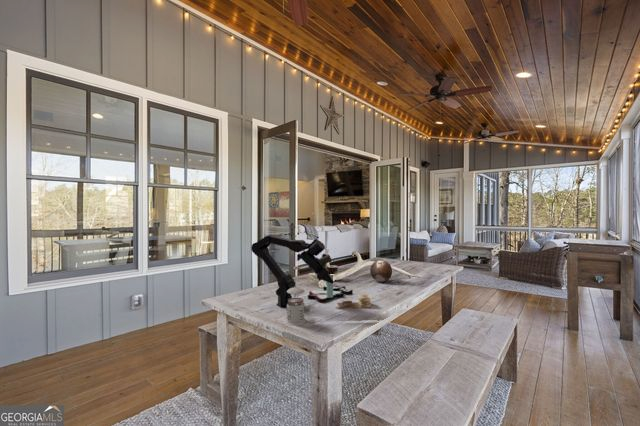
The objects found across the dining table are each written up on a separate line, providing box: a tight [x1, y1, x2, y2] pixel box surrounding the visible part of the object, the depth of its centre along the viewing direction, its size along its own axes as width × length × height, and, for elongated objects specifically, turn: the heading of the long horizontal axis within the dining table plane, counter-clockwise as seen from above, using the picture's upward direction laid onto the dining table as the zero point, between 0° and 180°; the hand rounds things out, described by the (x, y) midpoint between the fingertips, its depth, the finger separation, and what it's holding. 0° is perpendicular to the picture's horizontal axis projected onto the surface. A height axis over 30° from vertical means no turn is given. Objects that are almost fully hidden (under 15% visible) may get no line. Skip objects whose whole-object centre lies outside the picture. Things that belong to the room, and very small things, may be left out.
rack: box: [336, 294, 372, 310], centre depth 158 cm, size 16×10×6 cm, turn 95°
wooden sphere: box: [369, 259, 393, 283], centre depth 213 cm, size 15×15×15 cm
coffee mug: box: [324, 264, 339, 275], centre depth 217 cm, size 12×9×10 cm
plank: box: [326, 275, 334, 298], centre depth 156 cm, size 3×2×11 cm
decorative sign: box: [307, 283, 354, 304], centre depth 177 cm, size 18×4×30 cm
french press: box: [284, 266, 307, 326], centre depth 139 cm, size 10×12×25 cm
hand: (332, 282), depth 156 cm, fingers closed on plank, 2 cm apart
